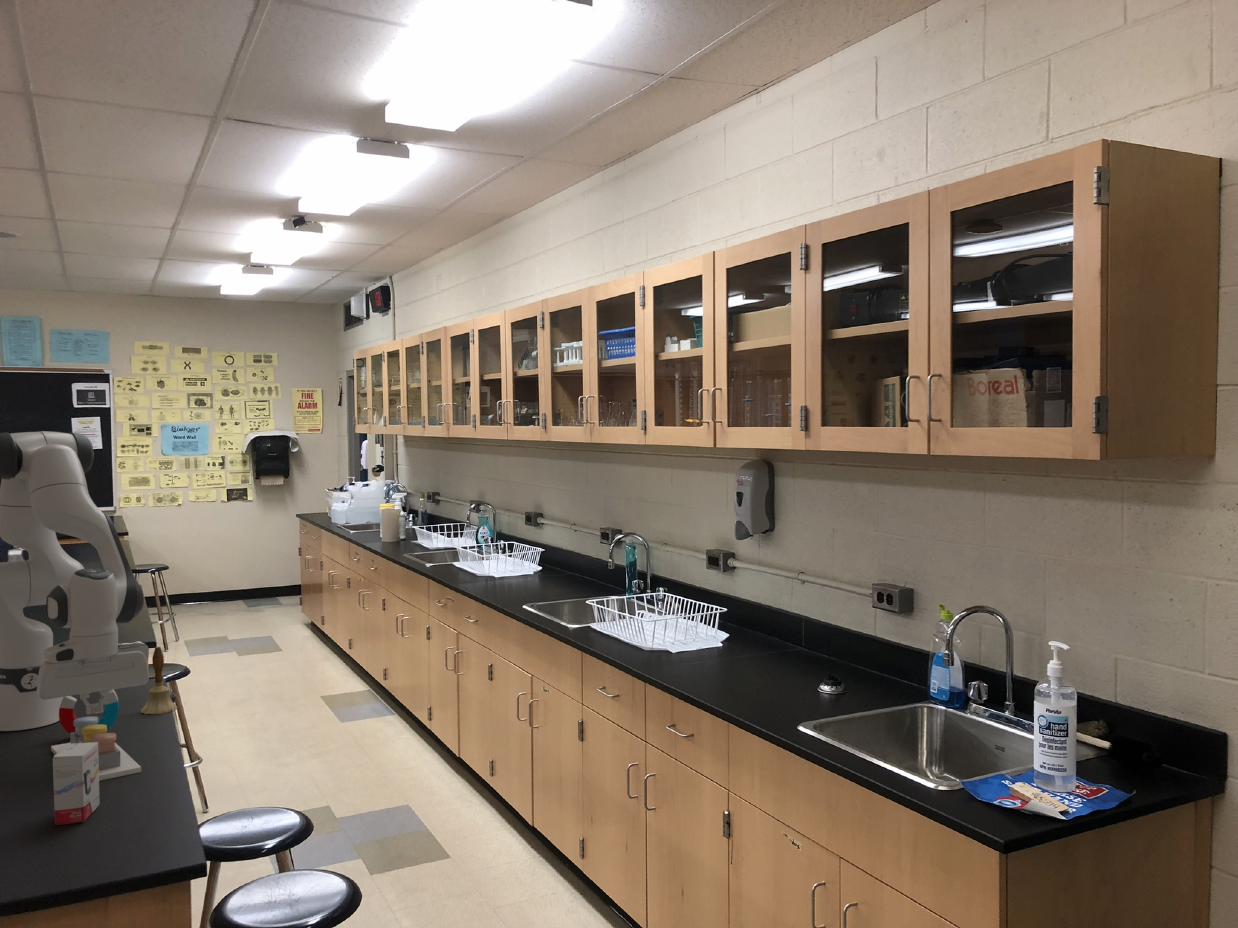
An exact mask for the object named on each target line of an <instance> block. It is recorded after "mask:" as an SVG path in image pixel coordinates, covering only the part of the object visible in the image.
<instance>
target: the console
mask: <svg viewBox="0 0 1238 928" xmlns="http://www.w3.org/2000/svg"><path fill="white" fill-rule="evenodd" d="M69 735H70V739H69V740H70V742H67V743H61V744H55V745H51V746H50V751H51V752H52V754H53V756H55V755H56V754H57V753H59V752H60V751H61V750H63V749H64V748H65V747H67V746H68V745H69V744H75V743H83V736H82V737H77V736H76V735H75V732H73V733H70V734H69ZM98 758H99V782H101V781H105V780H110V779H114V778H118V777H124V776H128V775H129V776H130V775H135V774H137V773H142V766H141V765H140V764H139V763H137V761H135V760H134V759H133V758H132V757H131V756H130V755H129V754H128V753H127V752H126V751H125V750H124V749H123V748H122V747H121V746H120V745H118V743H116V742H115V752H110V753H105V754H100V755H98Z"/></svg>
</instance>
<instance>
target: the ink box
mask: <svg viewBox="0 0 1238 928" xmlns="http://www.w3.org/2000/svg"><path fill="white" fill-rule="evenodd" d="M52 774H53V775H52V777H53V778H52V779H53V780H52V781H53V783H52V784H53V807H54V808H53V809H54V810H53V811H54V812H53V814H54V825H56V826H61V825H69V824H75V823H76V824H77V823H84V822H86V820H87V819H88V818H90V816H91V815H92V814H93V813H94V811H95V810H96V809H97V808H98V807H99V806H100V804H101V803H100V781H99V758H98V742H90V743H75V744H69V745H68V746H67V747H65V748H64V749H63V750H61V751H60V752H59V753H57V754H56V755H53V758H52Z"/></svg>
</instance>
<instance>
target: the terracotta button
mask: <svg viewBox="0 0 1238 928" xmlns="http://www.w3.org/2000/svg"><path fill="white" fill-rule="evenodd" d="M116 741H117V733H115V732H105V733H102V734H97V735H94V736H92V737H90V742H98V755H100V754H105V753H110V752H115V743H116Z"/></svg>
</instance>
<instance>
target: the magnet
mask: <svg viewBox="0 0 1238 928" xmlns="http://www.w3.org/2000/svg"><path fill="white" fill-rule="evenodd" d="M77 701H78V699H77V698H76V697H74V696H66V697H63V699H62V702H61V705H60V708H59V723H60V725H61V727H62V728H63V729H64V731H65V732H66V733H68V734H69V735H70V733H73V732H75V727H74V720H75V719H78V717H76V714H75V705H76V704H77ZM119 706H120V704H119V697H118V695H117V692H116V691H115V689H112V690H109V696H108V698H107V700H106V701H105V703H104V704H103V707H104V710H103V712H102V713H103V714H102V715H101V717H99V718H98V724H104V725H107V731H108V730H109V729H110V728H111V727H112V726H113V725H114V723H115V721H116V720H117V717H118V715H119V709H120V707H119ZM98 724H97V725H98Z"/></svg>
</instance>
